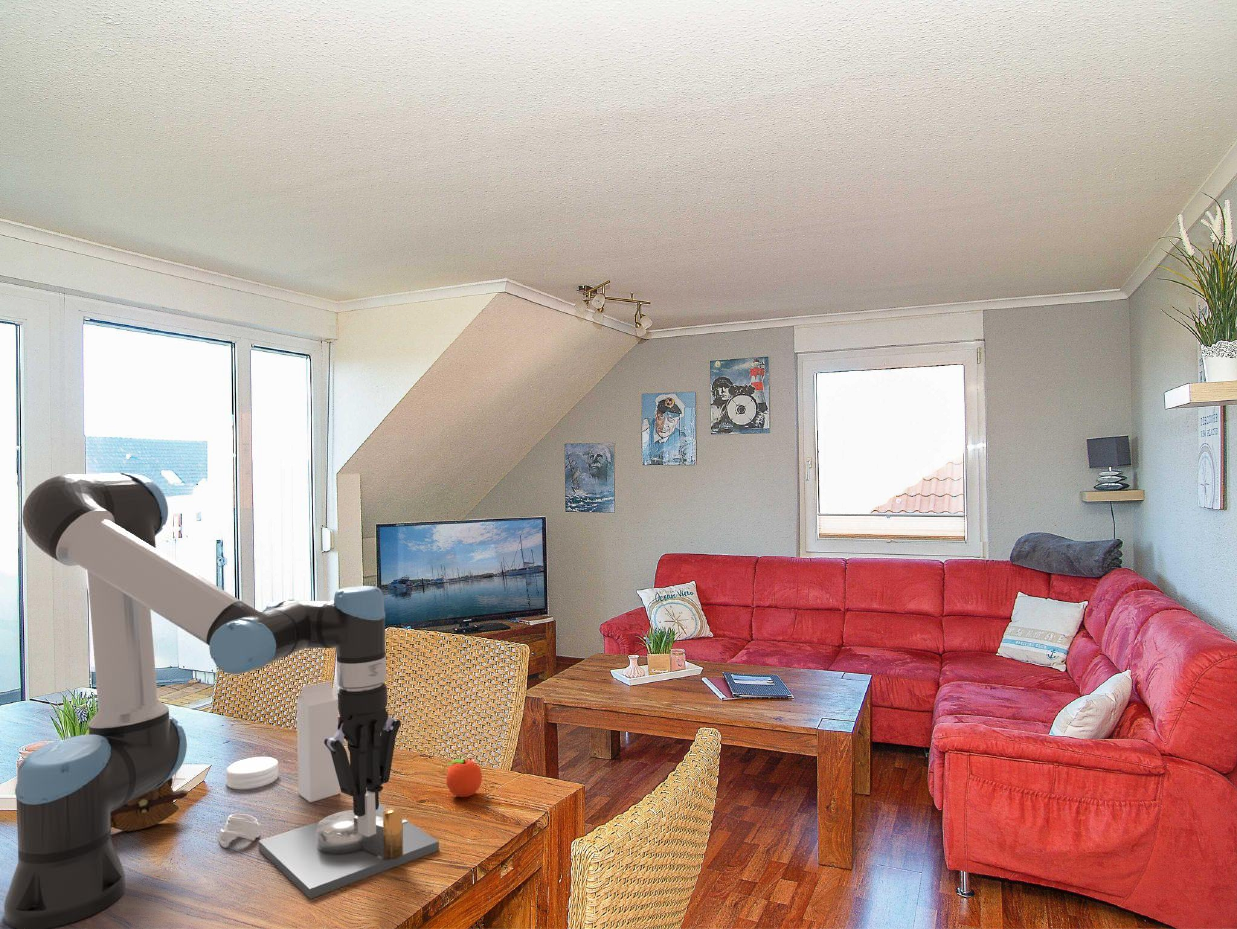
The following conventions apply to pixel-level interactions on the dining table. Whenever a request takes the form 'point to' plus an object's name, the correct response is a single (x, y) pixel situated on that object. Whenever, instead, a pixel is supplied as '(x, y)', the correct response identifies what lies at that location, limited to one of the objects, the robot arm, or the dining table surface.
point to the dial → (344, 838)
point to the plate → (336, 858)
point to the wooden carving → (147, 808)
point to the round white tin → (252, 773)
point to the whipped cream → (239, 828)
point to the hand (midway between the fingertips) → (367, 832)
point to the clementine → (463, 778)
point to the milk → (316, 741)
